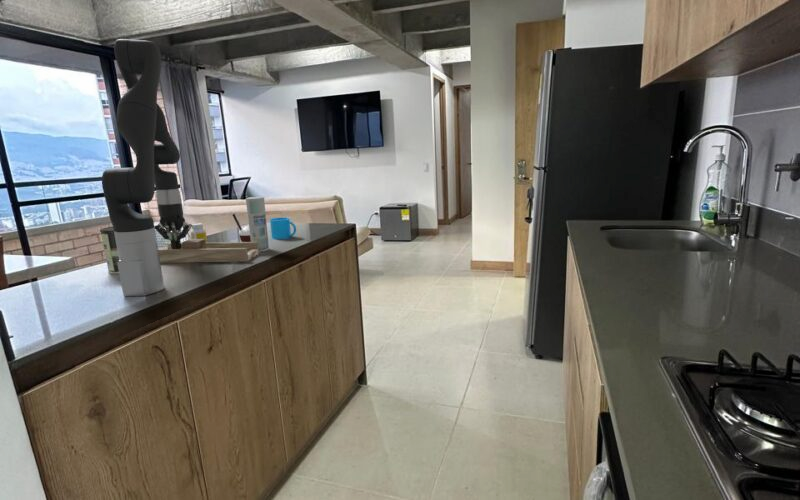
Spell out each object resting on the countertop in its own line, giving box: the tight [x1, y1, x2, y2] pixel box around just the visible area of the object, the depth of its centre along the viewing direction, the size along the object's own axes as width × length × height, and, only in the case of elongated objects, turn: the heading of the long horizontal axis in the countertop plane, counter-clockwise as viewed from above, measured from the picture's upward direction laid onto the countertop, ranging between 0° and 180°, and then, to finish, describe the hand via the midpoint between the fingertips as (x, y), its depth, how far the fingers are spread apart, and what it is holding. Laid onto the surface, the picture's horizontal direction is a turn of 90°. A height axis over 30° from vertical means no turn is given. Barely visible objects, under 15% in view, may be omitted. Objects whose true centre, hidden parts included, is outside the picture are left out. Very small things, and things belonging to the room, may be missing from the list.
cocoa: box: [232, 213, 251, 242], centre depth 175 cm, size 10×6×12 cm, turn 69°
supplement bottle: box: [190, 223, 208, 243], centre depth 166 cm, size 5×5×10 cm
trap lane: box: [158, 241, 260, 264], centre depth 150 cm, size 11×34×4 cm, turn 87°
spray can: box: [245, 196, 270, 253], centre depth 159 cm, size 6×6×20 cm
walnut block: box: [181, 238, 207, 249], centre depth 150 cm, size 6×6×4 cm
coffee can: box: [99, 226, 120, 275], centre depth 137 cm, size 10×10×14 cm
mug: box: [269, 217, 297, 240], centre depth 183 cm, size 12×8×8 cm
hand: (176, 250), depth 151 cm, fingers closed
